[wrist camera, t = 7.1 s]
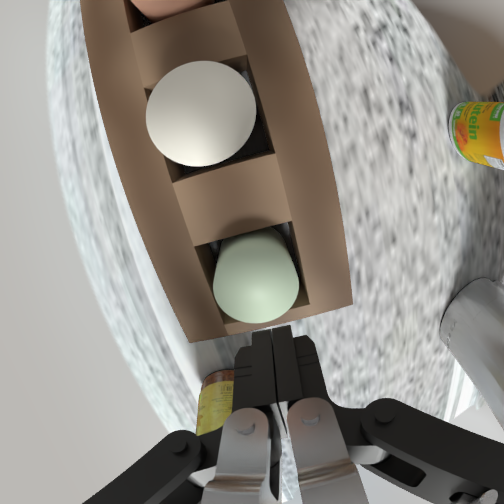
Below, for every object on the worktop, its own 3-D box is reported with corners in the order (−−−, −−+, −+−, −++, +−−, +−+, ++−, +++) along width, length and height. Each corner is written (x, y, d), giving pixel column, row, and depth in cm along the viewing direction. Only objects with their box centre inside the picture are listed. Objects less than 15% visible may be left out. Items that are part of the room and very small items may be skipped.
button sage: (279, 215, 20) (289, 238, 15) (293, 276, 22) (305, 312, 17) (210, 233, 20) (201, 261, 16) (230, 292, 22) (228, 330, 18)
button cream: (240, 71, 15) (239, 48, 10) (262, 146, 17) (269, 149, 12) (162, 95, 15) (134, 83, 11) (184, 168, 17) (163, 180, 13)
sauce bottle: (189, 380, 27) (162, 564, 9) (237, 357, 26) (236, 571, 7) (228, 410, 29) (224, 571, 11) (274, 391, 28) (293, 569, 10)
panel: (247, -47, 12) (248, -74, 8) (337, 277, 23) (352, 304, 19) (101, 1, 13) (78, -16, 9) (196, 312, 24) (189, 343, 20)
